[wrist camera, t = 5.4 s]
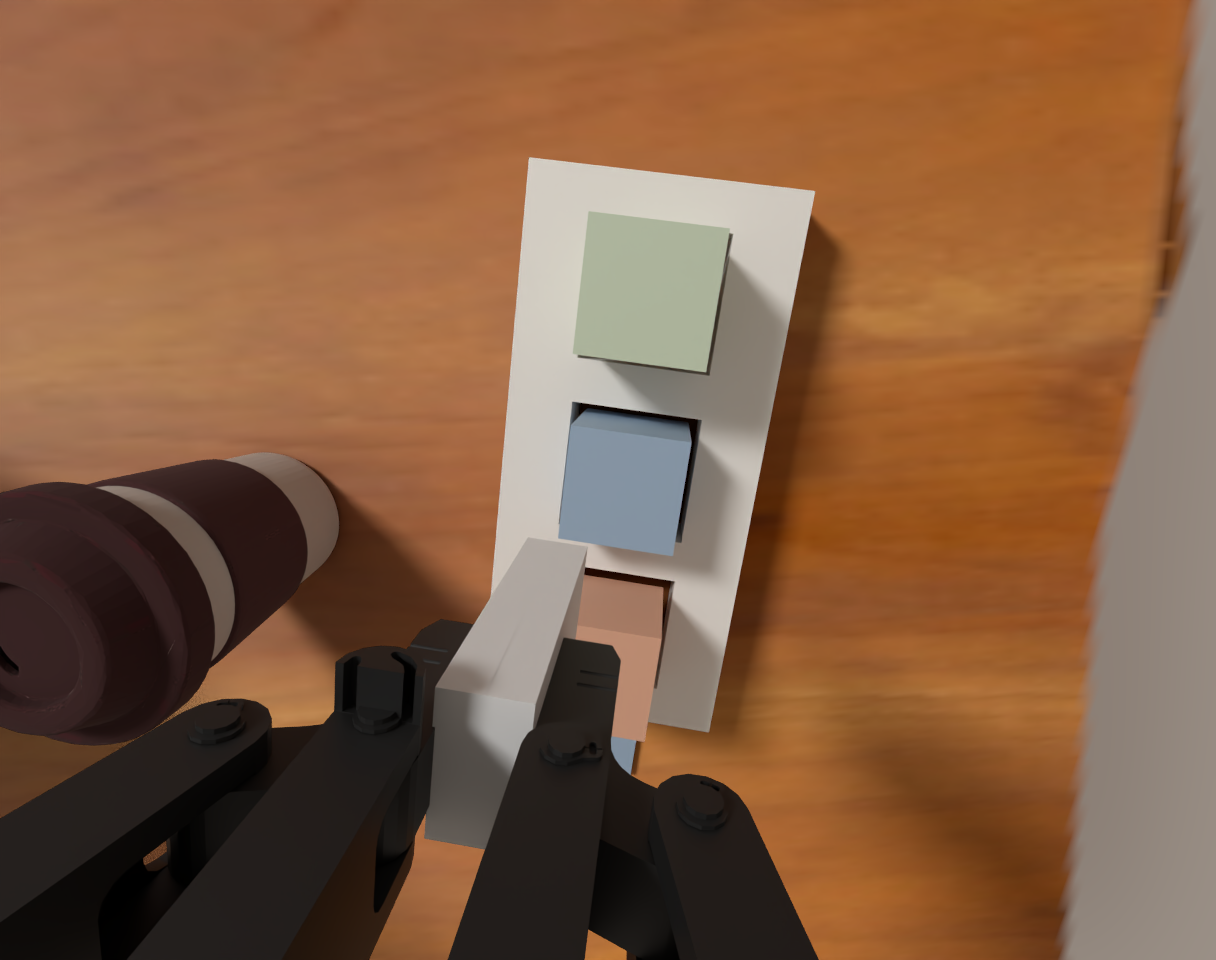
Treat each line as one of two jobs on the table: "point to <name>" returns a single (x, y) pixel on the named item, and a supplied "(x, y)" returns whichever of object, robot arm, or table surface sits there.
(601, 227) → the button sage
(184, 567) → the coffee cup
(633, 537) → the button slate
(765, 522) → the table surface
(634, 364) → the button board
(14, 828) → the robot arm
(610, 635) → the button terracotta
